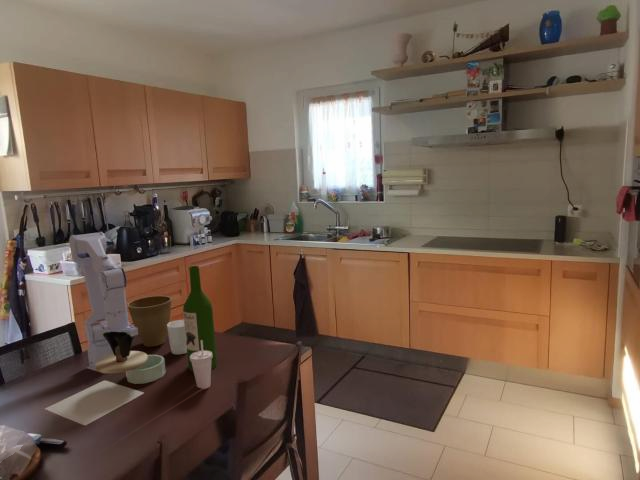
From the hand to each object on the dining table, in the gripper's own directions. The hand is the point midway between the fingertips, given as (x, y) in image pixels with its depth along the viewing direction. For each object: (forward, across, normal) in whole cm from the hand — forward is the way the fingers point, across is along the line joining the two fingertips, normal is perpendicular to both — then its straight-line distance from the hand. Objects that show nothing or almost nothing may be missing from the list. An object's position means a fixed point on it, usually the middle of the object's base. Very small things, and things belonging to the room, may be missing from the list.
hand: (121, 355), depth 132 cm
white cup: (+10, -5, +26) cm, 29 cm away
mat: (+10, 0, -10) cm, 14 cm away
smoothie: (+10, +21, +11) cm, 26 cm away
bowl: (+10, 0, +7) cm, 12 cm away
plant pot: (+10, -20, +27) cm, 35 cm away
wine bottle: (+10, +11, +20) cm, 25 cm away
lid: (+2, 0, 0) cm, 2 cm away
